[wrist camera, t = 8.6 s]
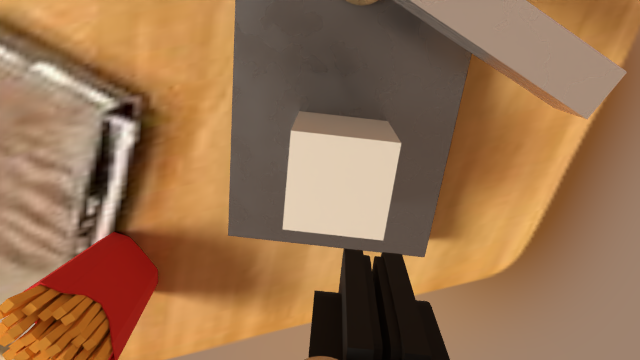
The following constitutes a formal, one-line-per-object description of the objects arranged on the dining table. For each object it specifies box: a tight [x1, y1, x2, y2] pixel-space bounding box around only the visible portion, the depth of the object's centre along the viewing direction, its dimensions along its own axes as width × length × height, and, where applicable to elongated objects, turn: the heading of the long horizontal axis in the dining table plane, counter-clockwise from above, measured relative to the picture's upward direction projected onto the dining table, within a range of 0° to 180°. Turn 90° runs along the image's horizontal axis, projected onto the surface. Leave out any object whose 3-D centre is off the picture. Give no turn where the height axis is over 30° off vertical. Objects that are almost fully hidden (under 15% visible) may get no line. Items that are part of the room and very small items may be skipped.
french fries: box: [0, 232, 158, 360], centre depth 31 cm, size 8×4×12 cm, turn 31°
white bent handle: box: [345, 0, 626, 119], centre depth 22 cm, size 14×4×9 cm, turn 59°
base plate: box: [228, 0, 472, 257], centre depth 30 cm, size 22×16×3 cm
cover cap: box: [283, 111, 401, 240], centre depth 27 cm, size 6×6×6 cm
